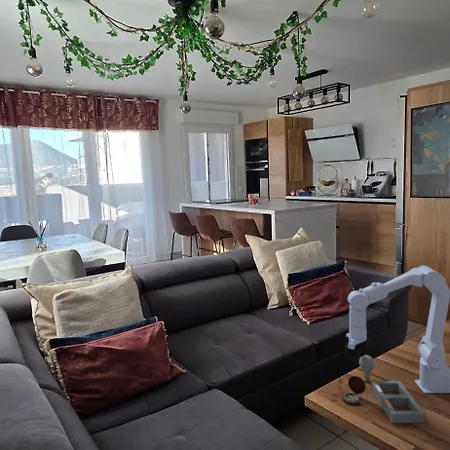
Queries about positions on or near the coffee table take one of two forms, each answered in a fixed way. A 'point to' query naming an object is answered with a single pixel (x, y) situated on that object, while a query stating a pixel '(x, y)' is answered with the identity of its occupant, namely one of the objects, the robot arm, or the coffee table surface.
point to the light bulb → (367, 366)
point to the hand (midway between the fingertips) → (357, 360)
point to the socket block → (398, 402)
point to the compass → (357, 387)
